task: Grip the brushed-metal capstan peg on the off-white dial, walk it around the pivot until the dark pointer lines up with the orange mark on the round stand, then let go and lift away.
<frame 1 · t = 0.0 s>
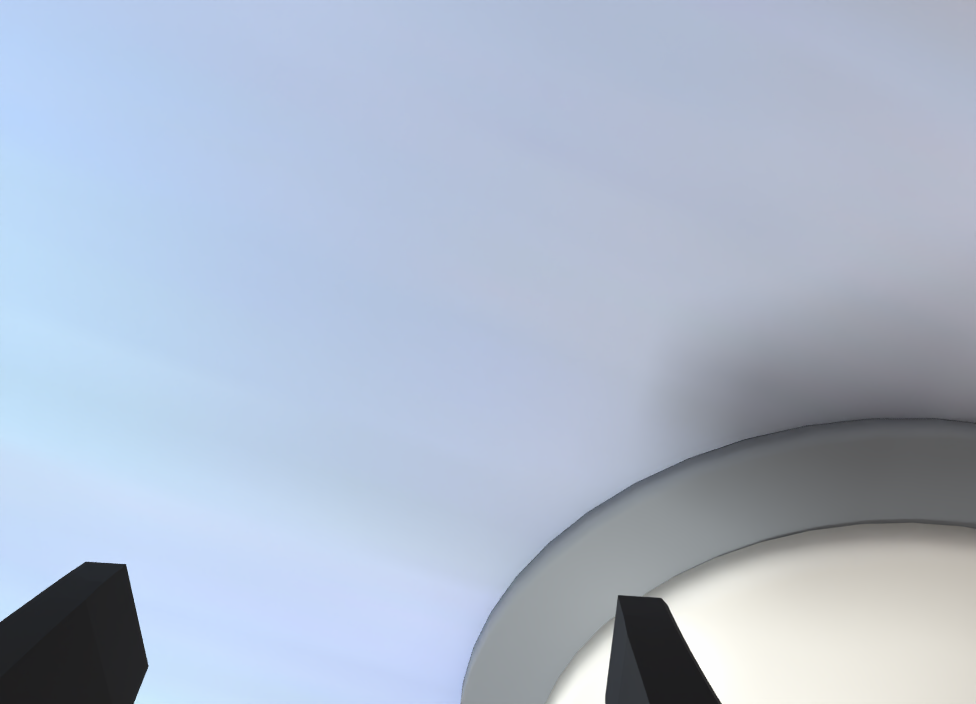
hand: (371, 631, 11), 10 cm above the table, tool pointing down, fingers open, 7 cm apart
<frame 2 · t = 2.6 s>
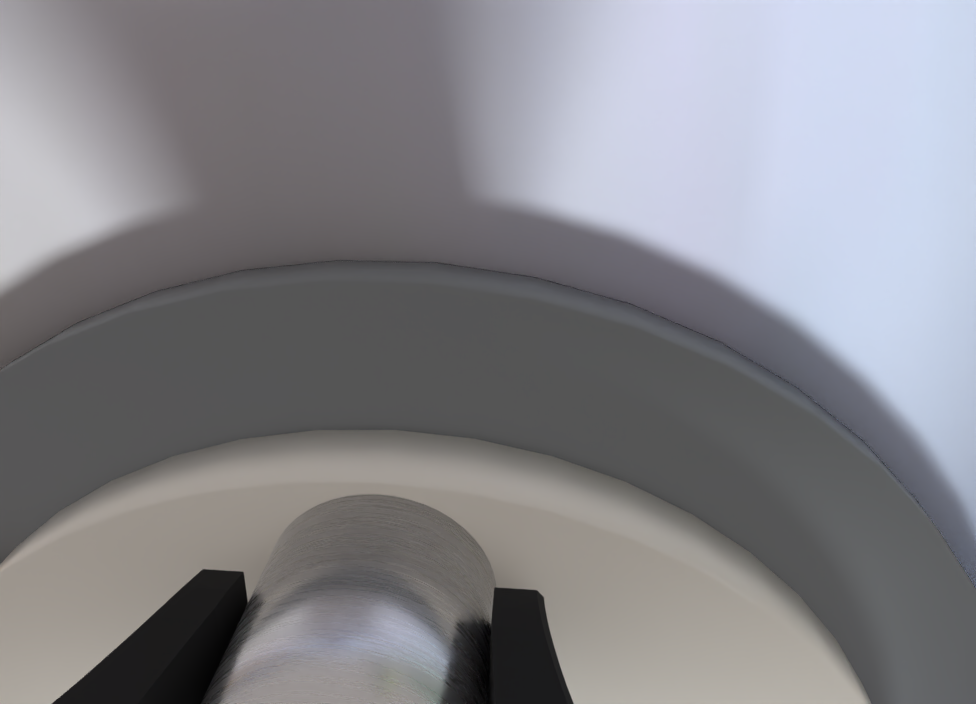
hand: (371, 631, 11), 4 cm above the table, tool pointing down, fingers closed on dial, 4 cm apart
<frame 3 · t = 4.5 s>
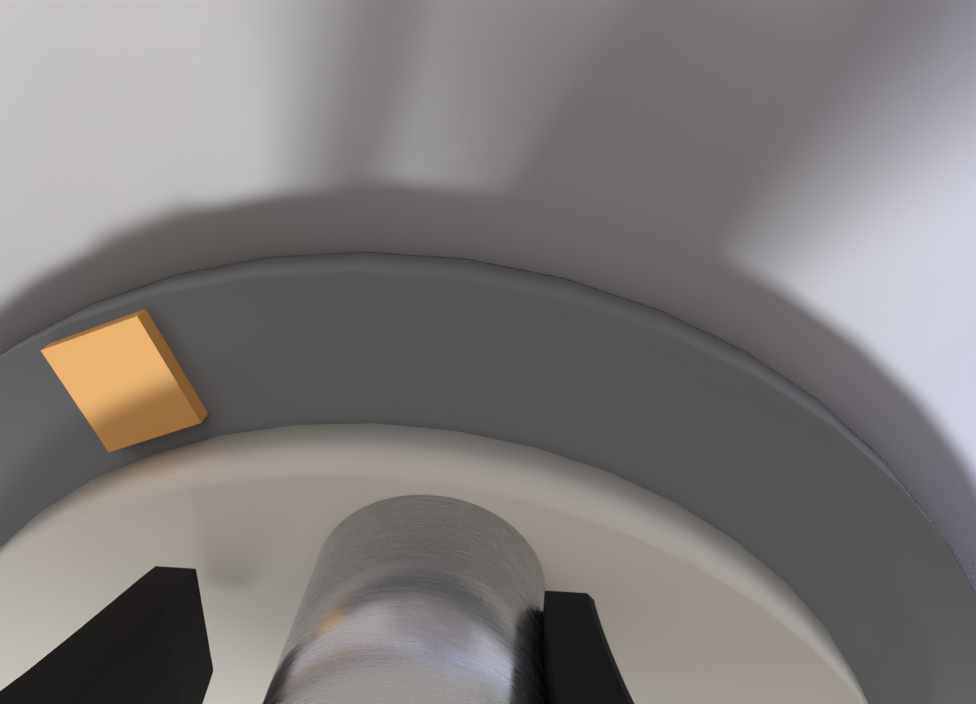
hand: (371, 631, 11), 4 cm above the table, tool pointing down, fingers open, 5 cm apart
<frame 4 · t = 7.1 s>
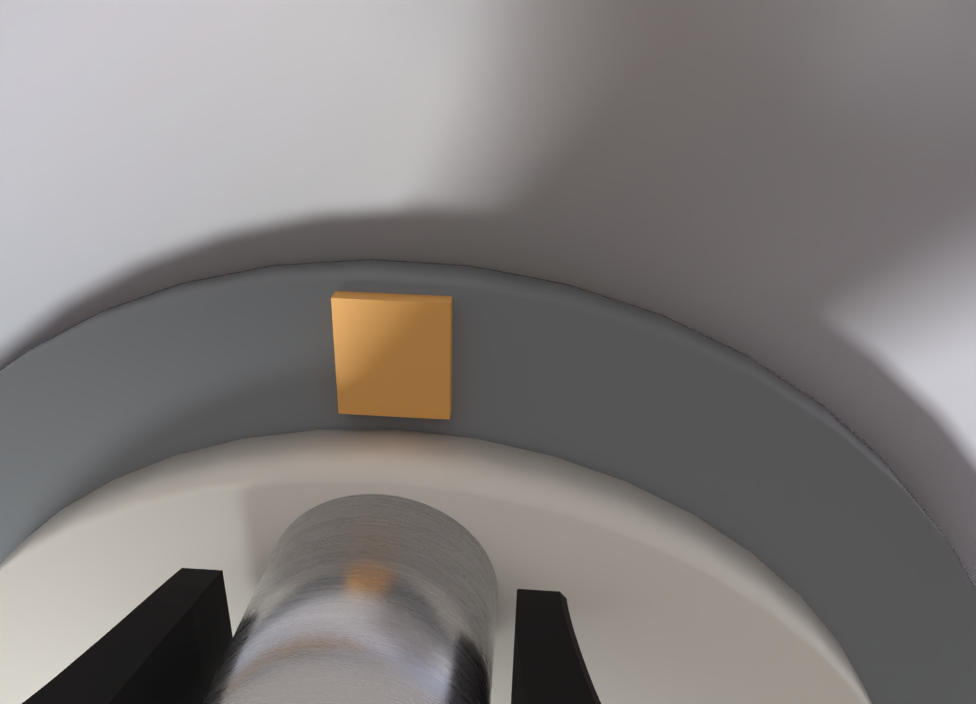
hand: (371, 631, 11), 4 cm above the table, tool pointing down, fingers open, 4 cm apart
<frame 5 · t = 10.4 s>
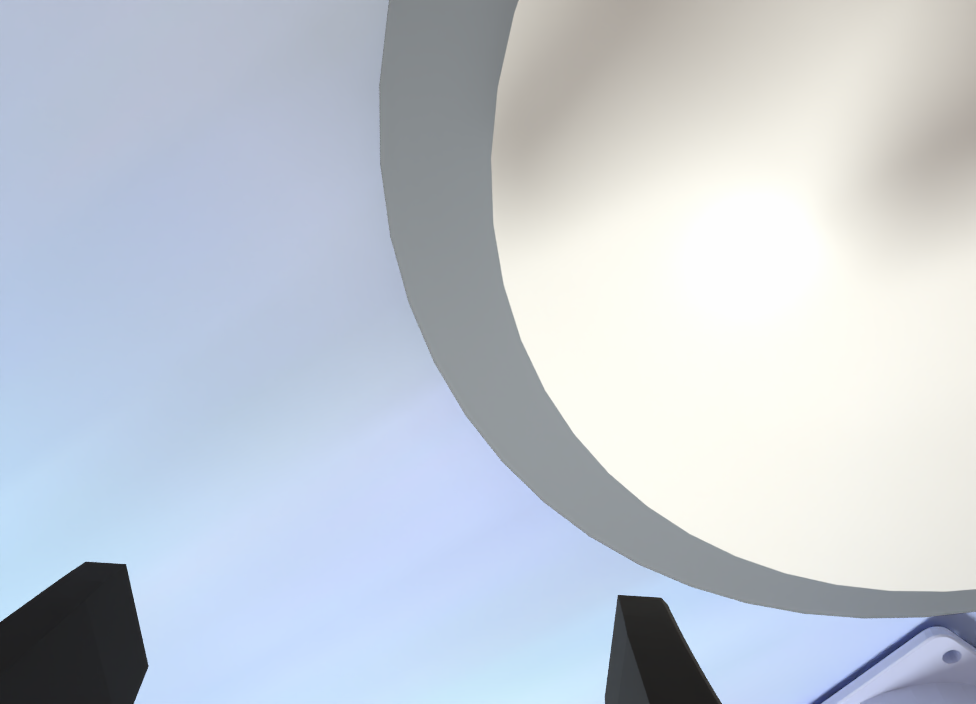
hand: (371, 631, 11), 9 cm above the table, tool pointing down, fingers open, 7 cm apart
stand base: (954, 151, 17), on the table
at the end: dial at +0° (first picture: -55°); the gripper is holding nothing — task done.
